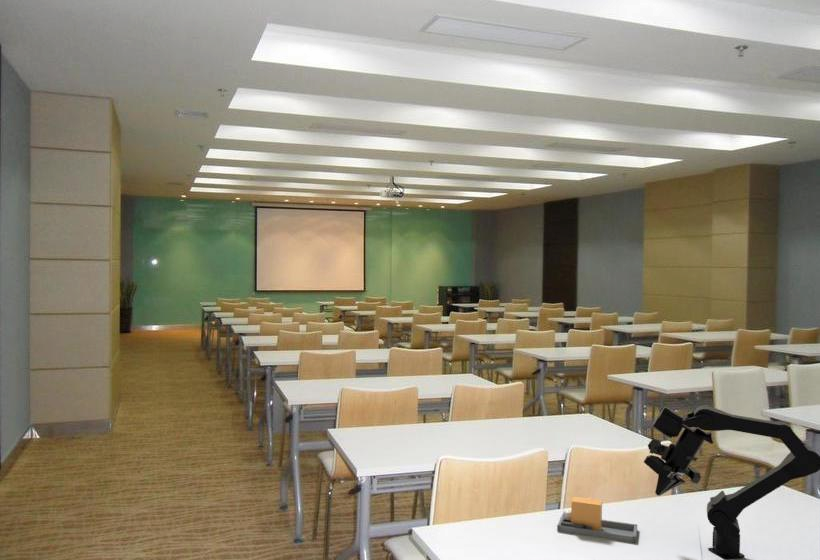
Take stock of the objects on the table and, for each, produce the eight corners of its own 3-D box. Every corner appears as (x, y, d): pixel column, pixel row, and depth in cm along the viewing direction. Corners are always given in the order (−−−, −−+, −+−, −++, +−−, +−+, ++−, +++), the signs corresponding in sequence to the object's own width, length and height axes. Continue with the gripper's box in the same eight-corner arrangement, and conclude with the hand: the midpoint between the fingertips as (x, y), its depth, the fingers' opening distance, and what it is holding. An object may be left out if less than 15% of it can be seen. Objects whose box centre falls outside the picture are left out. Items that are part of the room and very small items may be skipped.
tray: (637, 533, 189) (637, 522, 189) (635, 546, 180) (635, 534, 180) (562, 522, 196) (562, 511, 196) (557, 534, 187) (557, 523, 187)
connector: (601, 528, 190) (602, 500, 190) (600, 533, 186) (600, 505, 186) (564, 522, 194) (564, 495, 194) (562, 528, 189) (562, 500, 189)
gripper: (683, 435, 191) (655, 480, 194) (644, 425, 181) (616, 472, 184) (714, 459, 182) (684, 505, 185) (675, 449, 172) (644, 498, 175)
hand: (657, 494), depth 183 cm, fingers closed
